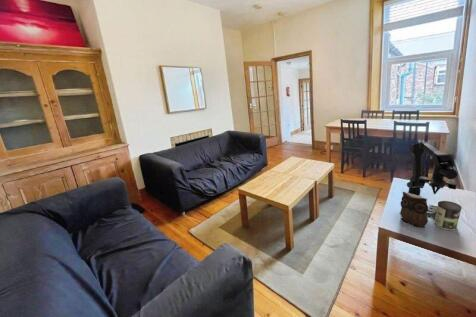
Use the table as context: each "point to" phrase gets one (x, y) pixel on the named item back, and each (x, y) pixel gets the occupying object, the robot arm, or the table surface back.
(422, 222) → the owl
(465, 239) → the table surface
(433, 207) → the block
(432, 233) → the table surface
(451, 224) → the coffee can
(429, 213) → the panel
